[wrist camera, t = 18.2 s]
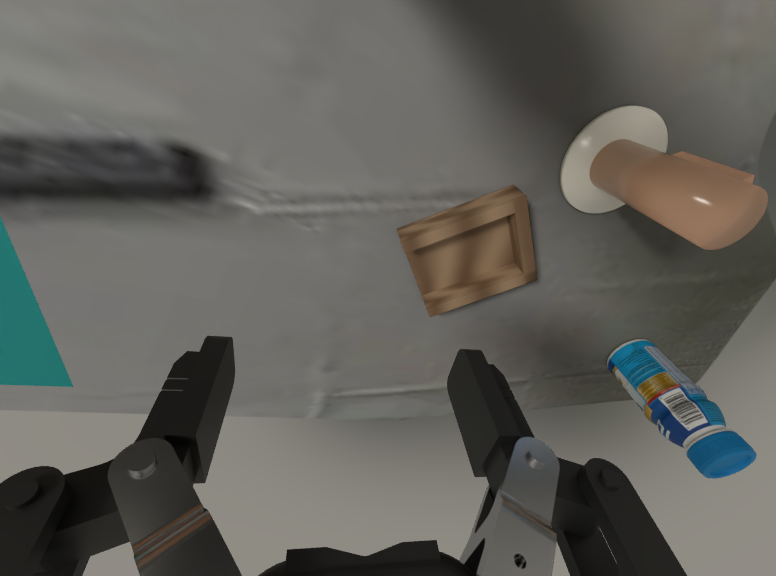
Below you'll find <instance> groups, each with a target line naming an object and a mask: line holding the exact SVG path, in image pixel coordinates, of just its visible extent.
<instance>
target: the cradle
mask: <svg viewBox="0 0 776 576" xmlns="http://www.w3.org/2000/svg"><path fill="white" fill-rule="evenodd" d="M397 231H398V234H399V237H400V241H401V244H402V246H403V249H404V251H405V254H406V255H407V257H408V260H409V263H410V265H411V268H412V271H413V273H414V276H415V279H416V281H417V284H418V286H419V289H420V292H421V294H422V297H423V300H424V303H425V306H426V309H427V312H428V314H429V317H432V316H435V315H438V314H441V313H444V312H447V311H449V310H452V309H455V308H458V307H461V306H464V305H467V304H469V303H472V302H475V301H478V300H481V299H484V298H487V297H489V296H492V295H495V294H498V293H501V292H504V291H507V290H509V289H512V288H515V287H518V286H521V285H524V284H527V283H529V282H532V281H535V280H537V276H536V268H535V260H534V252H533V244H532V236H531V228H530V220H529V212H528V203H527V196H526V195H525V194H524V193H522V192H521V191H520V190H519V189H518V188H516V187H515V186H514V185H511V186H509V187H506V188H503V189H501V190H498V191H495V192H493V193H490V194H488V195H485V196H482V197H480V198H477V199H474V200H472V201H469V202H466V203H464V204H461V205H459V206H456V207H453V208H451V209H448V210H445V211H443V212H440V213H438V214H435V215H432V216H430V217H427V218H424V219H422V220H419V221H416V222H414V223H411V224H409V225H406V226H403V227H401V228H398V229H397Z"/></svg>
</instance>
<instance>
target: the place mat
mask: <svg viewBox="0 0 776 576" xmlns="http://www.w3.org/2000/svg"><path fill="white" fill-rule="evenodd" d="M0 385H33V386H67V387H73V385H72V383H71V380H70V378H69V376H68V373H67V371H66V369H65V366H64V364H63V362H62V359H61V357H60V355H59V352H58V350H57V348H56V345H55V343H54V341H53V338H52V336H51V334H50V331H49V329H48V327H47V324H46V322H45V320H44V317H43V315H42V313H41V310H40V308H39V306H38V303H37V301H36V299H35V296H34V294H33V292H32V289H31V287H30V285H29V282H28V280H27V278H26V275H25V273H24V271H23V268H22V266H21V264H20V261H19V259H18V257H17V254H16V252H15V250H14V247H13V245H12V243H11V240H10V238H9V236H8V233H7V231H6V229H5V226H4V224H3V222H2V219H1V217H0Z"/></svg>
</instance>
